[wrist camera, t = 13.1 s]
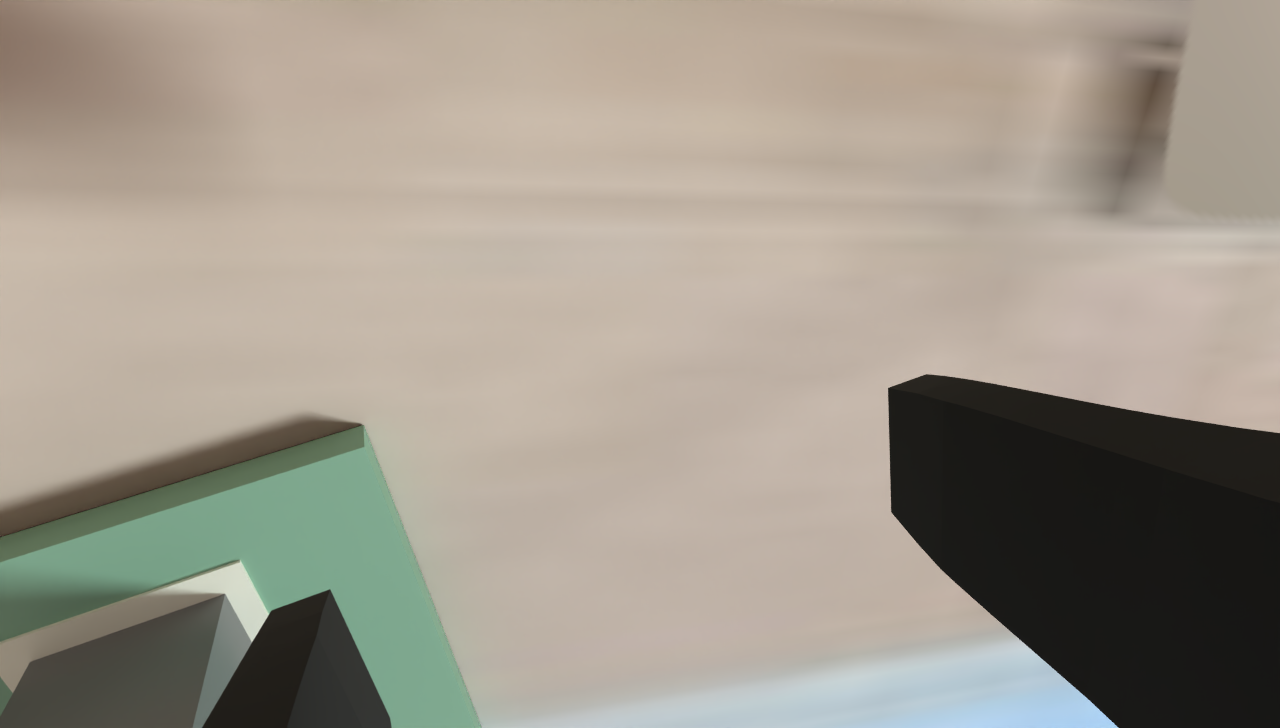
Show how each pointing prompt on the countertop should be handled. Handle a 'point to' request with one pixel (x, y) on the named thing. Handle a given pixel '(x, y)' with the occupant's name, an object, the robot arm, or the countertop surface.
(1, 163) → the countertop surface
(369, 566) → the board
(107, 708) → the block
